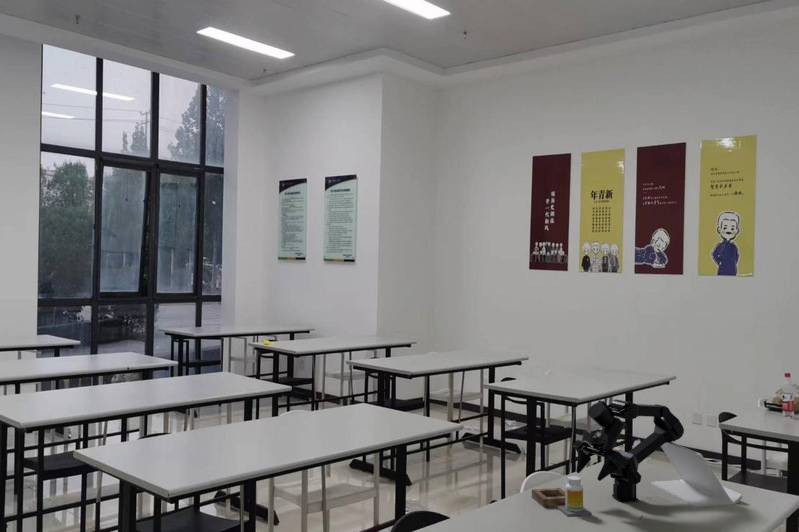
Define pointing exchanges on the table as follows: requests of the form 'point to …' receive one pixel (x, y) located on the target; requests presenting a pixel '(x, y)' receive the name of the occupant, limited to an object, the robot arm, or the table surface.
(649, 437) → the robot arm
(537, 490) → the walnut collar
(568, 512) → the rubber mat
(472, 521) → the table surface
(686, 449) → the tablet stand
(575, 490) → the supplement bottle
